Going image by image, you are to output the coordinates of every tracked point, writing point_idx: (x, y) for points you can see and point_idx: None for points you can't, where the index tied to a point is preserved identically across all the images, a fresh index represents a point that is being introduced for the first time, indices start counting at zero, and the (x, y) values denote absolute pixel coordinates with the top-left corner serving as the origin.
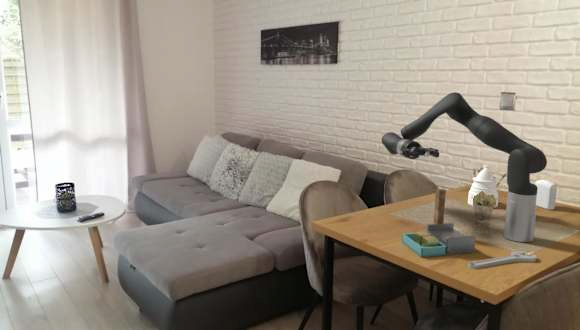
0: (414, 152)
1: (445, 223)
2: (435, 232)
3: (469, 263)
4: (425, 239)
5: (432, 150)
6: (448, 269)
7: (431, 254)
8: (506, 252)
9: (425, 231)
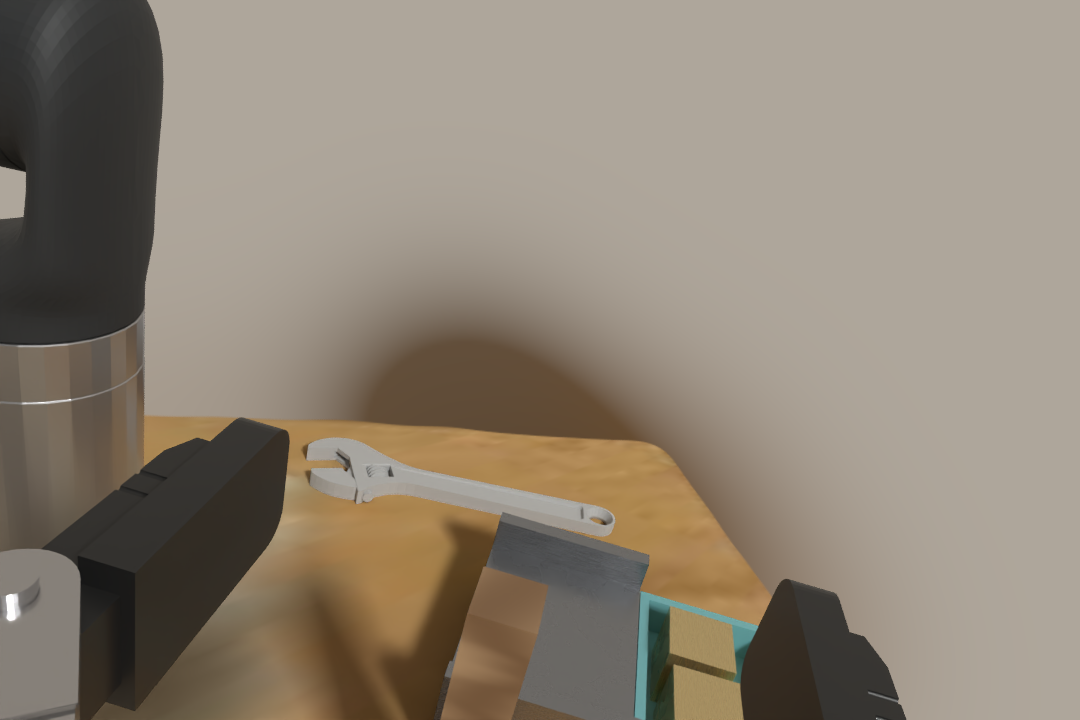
0: (861, 707)
1: None
2: (606, 698)
3: (607, 525)
4: (732, 645)
5: (76, 600)
6: (698, 553)
7: None
8: (344, 522)
9: (675, 718)
